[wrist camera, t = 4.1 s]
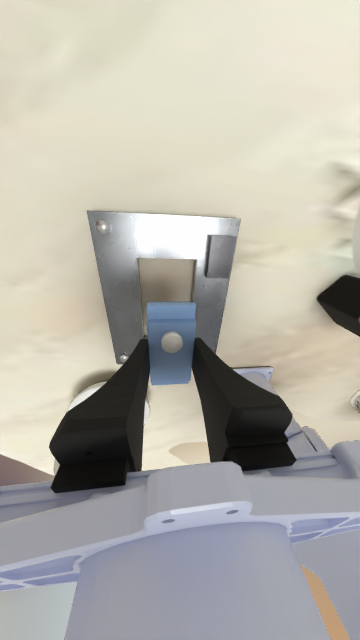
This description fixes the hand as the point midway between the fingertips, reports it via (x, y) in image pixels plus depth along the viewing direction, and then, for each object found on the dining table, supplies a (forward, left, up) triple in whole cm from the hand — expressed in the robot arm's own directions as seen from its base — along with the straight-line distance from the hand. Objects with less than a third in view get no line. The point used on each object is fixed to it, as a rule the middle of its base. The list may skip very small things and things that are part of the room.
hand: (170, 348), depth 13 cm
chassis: (0, 0, -9) cm, 9 cm away
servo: (0, 0, -3) cm, 3 cm away
